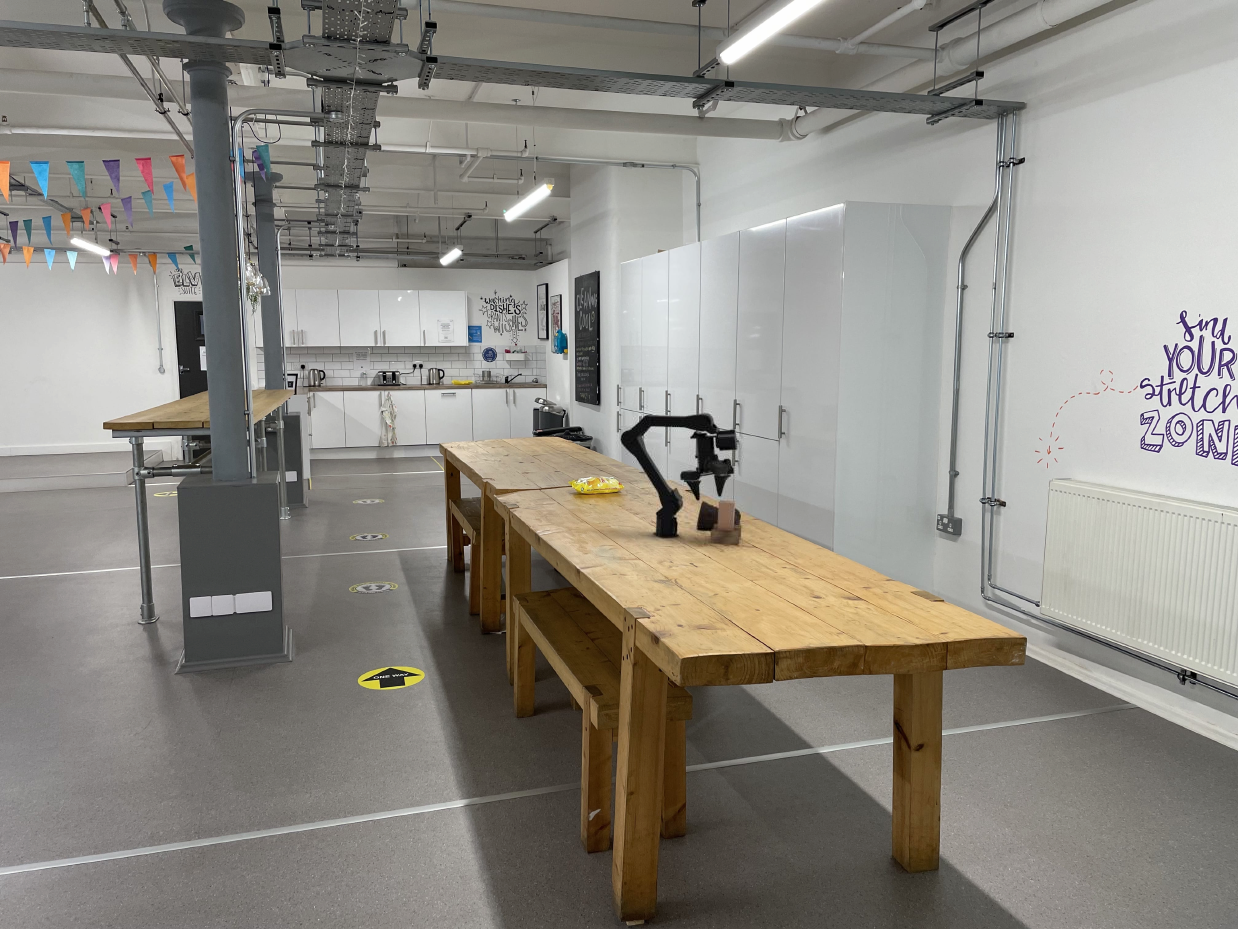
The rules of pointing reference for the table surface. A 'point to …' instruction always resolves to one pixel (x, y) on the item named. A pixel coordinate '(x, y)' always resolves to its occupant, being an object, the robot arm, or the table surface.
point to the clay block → (726, 515)
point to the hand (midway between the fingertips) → (709, 498)
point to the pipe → (712, 516)
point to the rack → (725, 535)
